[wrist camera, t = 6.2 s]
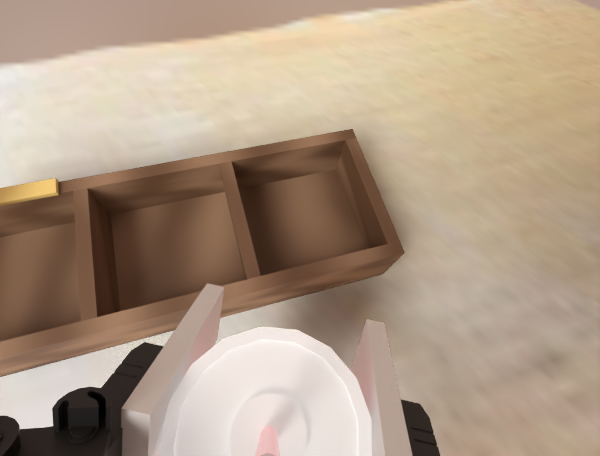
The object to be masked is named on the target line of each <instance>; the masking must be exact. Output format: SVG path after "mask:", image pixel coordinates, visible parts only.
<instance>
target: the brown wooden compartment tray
mask: <svg viewBox="0 0 600 456" xmlns="http://www.w3.org/2000/svg"><path fill="white" fill-rule="evenodd" d="M403 254H404V250H403V248H402V246H401V243H400V241H399V238H398V236H397V234H396V231H395V229H394V227H393V224H392V222H391V219H390V217H389V215H388V212H387V210H386V208H385V205H384V203H383V200H382V198H381V196H380V193H379V191H378V189H377V186H376V184H375V182H374V179H373V177H372V174H371V172H370V170H369V167H368V165H367V163H366V160H365V158H364V155H363V153H362V151H361V148H360V146H359V144H358V141H357V139H356V136H355V134H354V132H353V129H350V130H344V131H339V132H333V133H328V134H322V135H317V136H311V137H306V138H300V139H295V140H289V141H284V142H278V143H273V144H267V145H261V146H256V147H250V148H245V149H239V150H234V151H228V152H223V153H217V154H212V155H206V156H201V157H195V158H190V159H184V160H179V161H173V162H168V163H162V164H156V165H151V166H145V167H140V168H134V169H129V170H123V171H118V172H112V173H107V174H101V175H96V176H90V177H85V178H79V179H74V180H68V181H63V182H58V180H57V179H56V178H54V179H49V180H43V181H38V182H32V183H26V184H21V185H15V186H10V187H4V188H0V377H2V376H6V375H9V374H13V373H17V372H20V371H24V370H28V369H32V368H35V367H39V366H43V365H46V364H50V363H54V362H58V361H61V360H65V359H69V358H72V357H76V356H80V355H84V354H87V353H91V352H95V351H98V350H102V349H106V348H110V347H113V346H117V345H121V344H124V343H128V342H132V341H136V340H139V339H143V338H147V337H151V336H154V335H158V334H162V333H165V332H169V331H173V330H175V329H176V328H177V326H178V325H179V324H180V322H181V321H182V319H183V318H184V316H185V315H186V313H187V312H188V310H189V309H190V307H191V306H192V305H193V303H194V302H195V300H196V299H197V297H198V296H199V294H200V293H201V291H202V290H203V288H204V287H205V286H206V284H207V283H208V284H213V285H217V286H222V287H224V294H223V301H222V308H221V315H220V318H221V317H225V316H229V315H232V314H236V313H240V312H243V311H247V310H251V309H255V308H258V307H262V306H266V305H269V304H273V303H277V302H281V301H284V300H288V299H292V298H295V297H299V296H303V295H307V294H310V293H314V292H318V291H321V290H325V289H329V288H333V287H336V286H340V285H344V284H348V283H351V282H355V281H359V280H362V279H366V278H370V277H374V276H377V275H381V274H383V273H384V272H385V271H386V270H387V269H388V268H389V267H390V266H391V265H392V264H393V263H395V262H396V261H397V260H398V259H399V258H400V257H401V256H402V255H403Z"/></svg>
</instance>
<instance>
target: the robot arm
mask: <svg viewBox="0 0 600 456" xmlns="http://www.w3.org/2000/svg"><path fill="white" fill-rule="evenodd" d="M223 294H224V287H222V286H217V285H213V284H208V283H207V284H206V286H205V287H204V288H203V290H202V291H201V293H200V294H199V296H198V297H197V299H196V300H195V302H194V303H193V305H192V306H191V307H190V309H189V310H188V312H187V313H186V315H185V316H184V318H183V319H182V321H181V322H180V324H179V325H178V326H177V328H176V329H175V331H174V332H173V334H172V335H171V337H170V338H169V340H168V341H167V343H166V344H165V346H164V347H163V346H159V345H154V344H150V343H146V342H144V343H143V344H141V345H139V346H138V347H136V348H135V349H133V350H131V352H130V353H129V354H128V355H127V357H126V358H125V359H124V360H123V362H122V364H120V365H119V367H118V368H117V369H116V370H115V372H114V374H112V375H111V377H110V378H109V379H108V380H107V382H106V383H105V384H104V385H103V387H102V388H95V387H86V388H80V389H77V390H74V391H72V392H69V393H67V394H66V395H65V396H63V397H62V398H61V399H59V400H58V401H57V403H56V404H55V406H54V407H53V408H52V410H53V426H52V427H46V428H33V429H19V424H18V423H17V421H16V420H15V419H13V418H11V417H8V416H0V456H159V447H160V442H161V437H162V432H163V427H164V422H165V417H166V412H167V408H168V404H169V401H170V400H171V398H172V396H173V395H174V393H175V391H176V390H177V388H178V386H179V384H180V383H181V381H182V379H183V378H184V376H185V374H186V373H187V371H188V369H189V368H190V366H191V364H193V363H194V362H195V361H196V360H198V359H199V358H200V357H201V356H202V355H204V354H205V353H206V352H207V351H209V350H210V349H211V348H212V347H213V346H214V345H215V342H216V340H217V337H218V329H219V322H220V315H221V308H222V301H223ZM351 372H352V373H353V374H354V375H355V377H356V378H357V380H358V383H359V386H360V389H361V391H362V394H363V397H364V400H365V402H366V405H367V408H368V411H369V413H370V416H371V419H372V456H440V453H439V450H438V447H437V443H436V439H435V436H434V435H433V429H432V426H431V422H430V419H429V417H428V415H427V414H426V412H425V411H424V409H423V408H422V406H421V405H420V404H418V403H413V402H409V401H405V400H401V399H400V394H399V390H398V385H397V380H396V375H395V371H394V366H393V361H392V357H391V352H390V347H389V342H388V338H387V333H386V328H385V323H383V322H378V321H374V320H369V319H367V320H366V323H365V326H364V329H363V332H362V335H361V339H360V342H359V345H358V348H357V351H356V354H355V358H354V361H353V364H352V367H351Z"/></svg>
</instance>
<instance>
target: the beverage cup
mask: <svg viewBox="0 0 600 456" xmlns="http://www.w3.org/2000/svg"><path fill="white" fill-rule="evenodd" d="M159 456H372V419H371V416H370V413H369V411H368V408H367V405H366V402H365V400H364V397H363V394H362V391H361V389H360V386H359V383H358V380H357V378H356V377H355V375H354V374H353V373H352V372H351V371H350V370H349V368H348V367H347V366H346V365H345V364H344V362H343V361H342V360H341V359H340V358H339V357H338V355H337V354H336V353H335V352H334V351H333V349H332V348H331V347H329V346H327V345H325V344H323V343H322V342H320V341H318V340H316V339H314V338H312V337H310V336H308V335H306V334H305V333H303V332H301V331H299V330H296V329H284V328H272V327H261V326H260V327H257V328H254V329H251V330H248V331H245V332H241V333H238V334H235V335H232V336H229V337H226V338H223V339H222V340H221V341H220V342H218V343H217V344H216V345H215V346H213V347H212V348H211V349H210V350H209V351H207V352H206V353H205V354H204V355H202V356H201V357H200V358H199V359H198V360H196V361H195V362H194V363H193V364H191V366H190V368H189V369H188V371H187V373H186V374H185V376H184V378H183V379H182V381H181V383H180V384H179V386H178V388H177V390H176V391H175V393H174V395H173V396H172V398H171V400H170V401H169V404H168V408H167V412H166V417H165V422H164V427H163V432H162V437H161V442H160V447H159Z"/></svg>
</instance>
